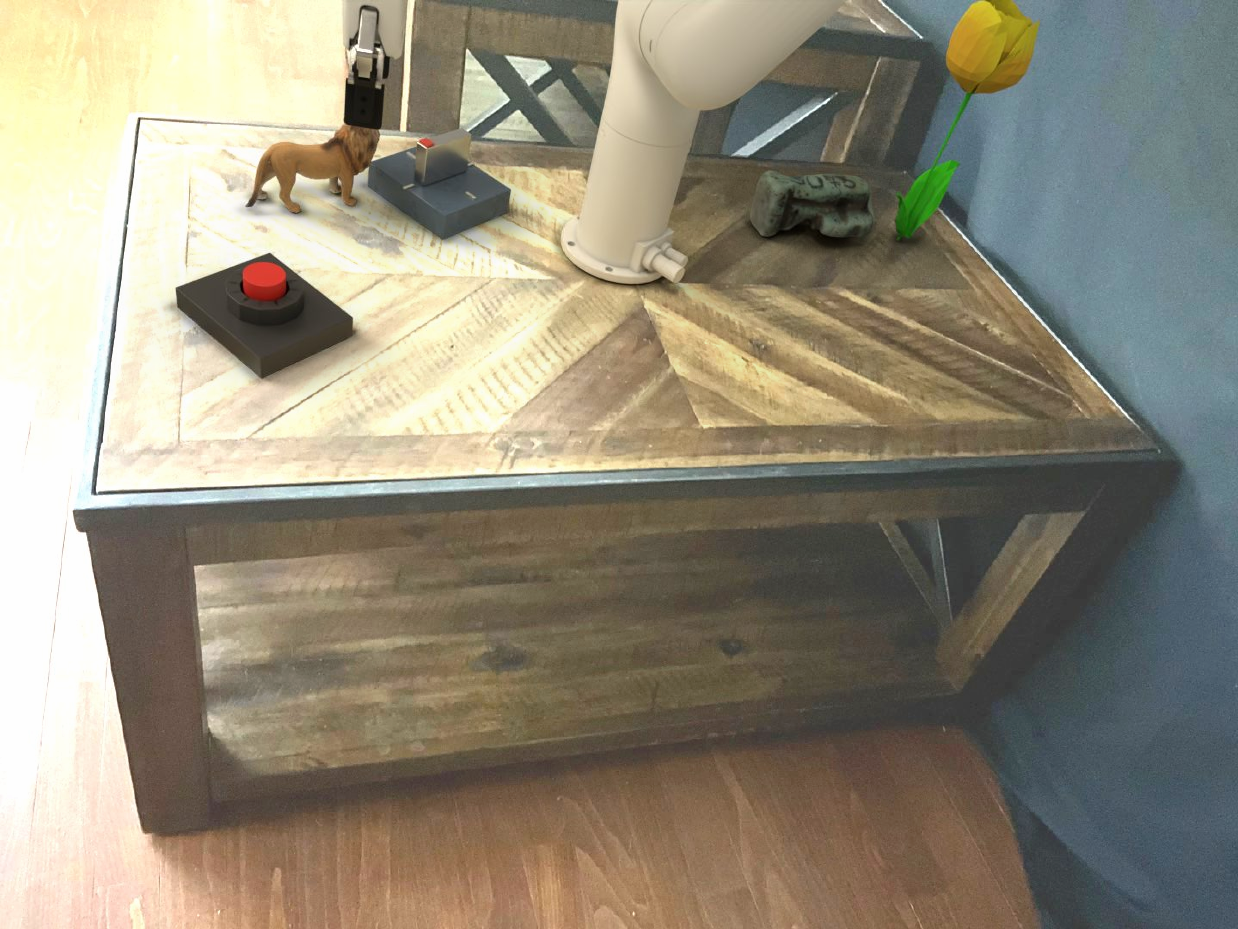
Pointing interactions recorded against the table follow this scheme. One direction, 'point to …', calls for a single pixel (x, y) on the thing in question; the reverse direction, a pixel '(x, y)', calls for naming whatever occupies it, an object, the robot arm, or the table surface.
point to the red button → (264, 281)
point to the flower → (972, 88)
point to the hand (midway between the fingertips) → (367, 99)
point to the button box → (264, 318)
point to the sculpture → (813, 204)
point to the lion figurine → (317, 163)
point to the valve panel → (439, 194)
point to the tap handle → (442, 156)
